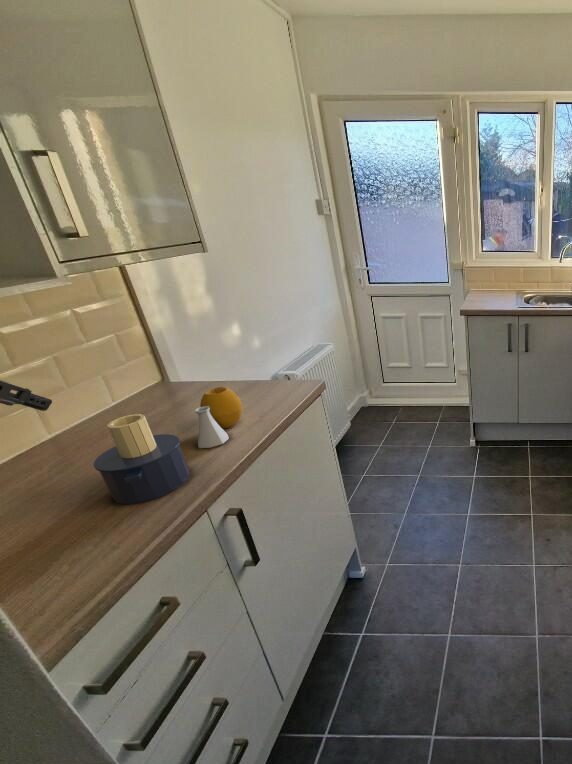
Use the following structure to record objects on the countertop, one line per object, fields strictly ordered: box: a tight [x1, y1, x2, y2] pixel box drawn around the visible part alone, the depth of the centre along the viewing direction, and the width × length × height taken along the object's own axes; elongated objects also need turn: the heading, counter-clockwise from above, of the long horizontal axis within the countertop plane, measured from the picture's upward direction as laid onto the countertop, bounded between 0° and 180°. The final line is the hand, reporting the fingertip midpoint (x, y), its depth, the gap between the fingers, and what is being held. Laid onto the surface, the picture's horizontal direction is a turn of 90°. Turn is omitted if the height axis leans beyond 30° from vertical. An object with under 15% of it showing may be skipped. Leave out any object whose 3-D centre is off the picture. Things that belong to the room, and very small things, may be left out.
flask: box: [194, 406, 230, 449], centre depth 109 cm, size 7×7×10 cm
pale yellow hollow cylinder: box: [106, 413, 157, 458], centre depth 89 cm, size 6×6×8 cm
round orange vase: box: [199, 386, 243, 429], centre depth 118 cm, size 10×10×12 cm
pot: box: [99, 444, 190, 505], centre depth 93 cm, size 14×19×8 cm
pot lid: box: [93, 433, 181, 473], centre depth 90 cm, size 15×15×6 cm
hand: (31, 403), depth 75 cm, fingers open, 8 cm apart
